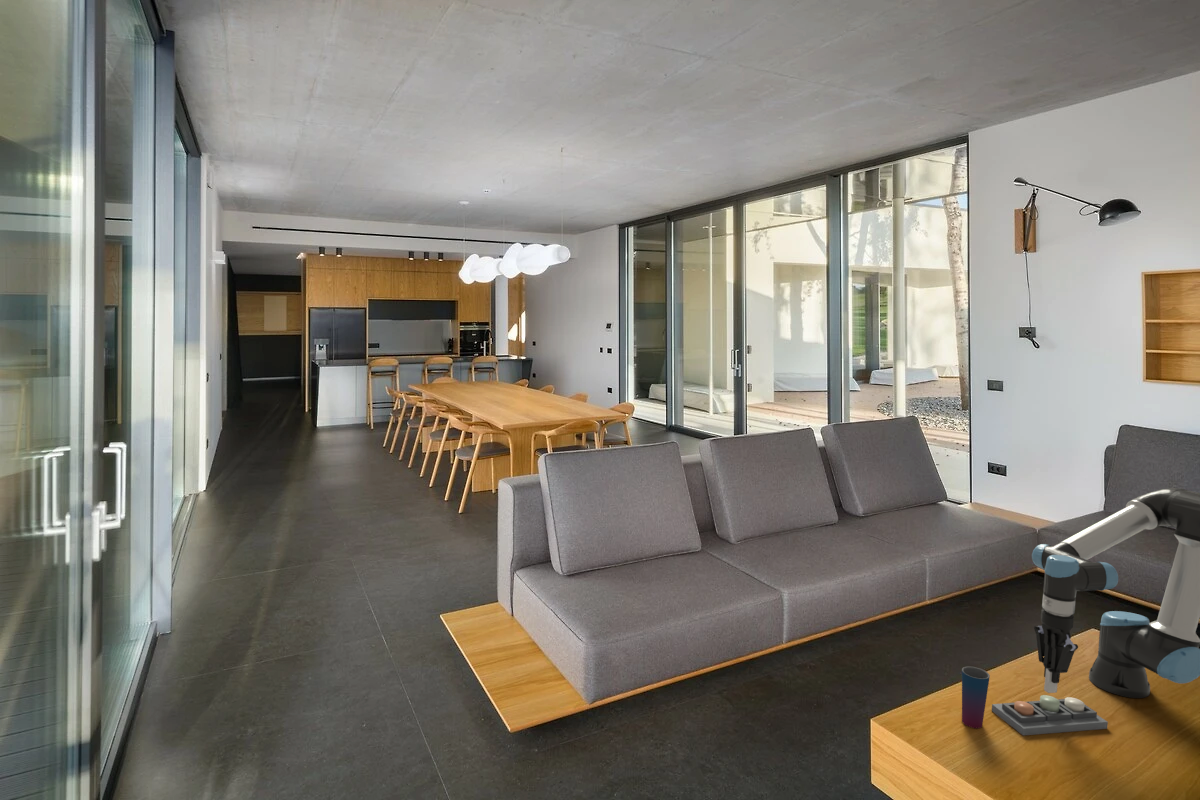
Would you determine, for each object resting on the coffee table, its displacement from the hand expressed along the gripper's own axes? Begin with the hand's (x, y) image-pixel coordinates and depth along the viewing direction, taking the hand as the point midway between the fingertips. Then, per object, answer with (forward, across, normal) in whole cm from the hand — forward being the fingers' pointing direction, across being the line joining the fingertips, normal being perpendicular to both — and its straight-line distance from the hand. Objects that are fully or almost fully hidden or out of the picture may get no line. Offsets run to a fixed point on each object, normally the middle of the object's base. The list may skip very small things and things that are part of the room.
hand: (1050, 691), depth 190 cm
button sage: (+5, 0, 0) cm, 5 cm away
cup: (+9, -1, -23) cm, 25 cm away
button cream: (+6, 0, +8) cm, 10 cm away
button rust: (+6, 0, -8) cm, 10 cm away
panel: (+9, 0, 0) cm, 9 cm away
